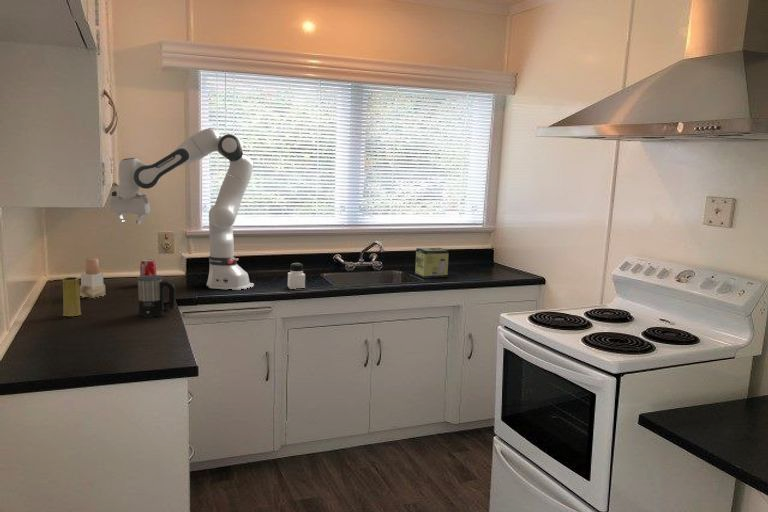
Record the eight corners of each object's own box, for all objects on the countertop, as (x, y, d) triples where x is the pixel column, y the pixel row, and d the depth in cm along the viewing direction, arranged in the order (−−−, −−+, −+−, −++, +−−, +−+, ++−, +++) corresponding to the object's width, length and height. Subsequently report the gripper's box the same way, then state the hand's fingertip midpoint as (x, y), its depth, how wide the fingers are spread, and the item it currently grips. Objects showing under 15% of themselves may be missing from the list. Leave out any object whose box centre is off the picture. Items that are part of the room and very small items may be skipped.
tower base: (105, 295, 256) (105, 284, 255) (92, 298, 250) (92, 287, 249) (92, 293, 258) (92, 282, 258) (79, 297, 252) (79, 285, 251)
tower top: (103, 284, 255) (103, 273, 254) (92, 287, 249) (91, 275, 249) (92, 283, 257) (92, 271, 256) (81, 285, 251) (80, 273, 251)
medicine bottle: (305, 289, 285) (305, 264, 283) (290, 289, 282) (291, 265, 280) (301, 286, 291) (302, 262, 290) (287, 286, 289) (287, 262, 287)
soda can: (137, 285, 279) (136, 260, 277) (149, 282, 285) (148, 258, 283) (147, 287, 275) (147, 261, 274) (159, 284, 282) (159, 259, 280)
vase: (64, 314, 224) (62, 277, 222) (82, 313, 226) (80, 276, 224) (61, 318, 218) (60, 280, 216) (80, 317, 221) (78, 279, 218)
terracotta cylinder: (101, 272, 254) (101, 259, 252) (91, 275, 249) (90, 261, 248) (93, 270, 256) (93, 257, 254) (83, 272, 252) (82, 259, 250)
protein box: (414, 275, 333) (415, 248, 330) (438, 274, 339) (440, 247, 336) (423, 278, 323) (424, 250, 321) (447, 277, 329) (449, 250, 327)
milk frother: (138, 318, 222) (137, 280, 220) (136, 308, 236) (135, 272, 234) (178, 316, 228) (177, 278, 226) (174, 306, 242) (173, 270, 240)
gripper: (152, 194, 273) (153, 224, 275) (117, 192, 279) (118, 221, 281) (143, 194, 267) (143, 225, 269) (107, 192, 273) (108, 222, 275)
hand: (130, 223), depth 275 cm, fingers open, 8 cm apart
